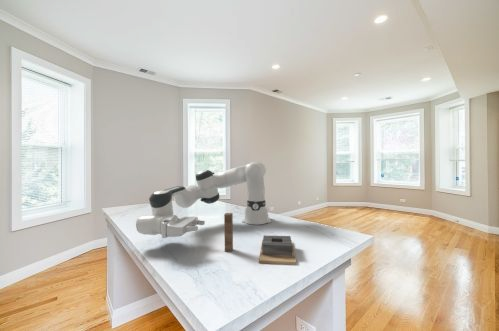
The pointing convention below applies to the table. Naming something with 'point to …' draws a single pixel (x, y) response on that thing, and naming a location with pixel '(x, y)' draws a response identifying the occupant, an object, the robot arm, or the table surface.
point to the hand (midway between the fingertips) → (200, 225)
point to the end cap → (277, 250)
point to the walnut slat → (228, 231)
